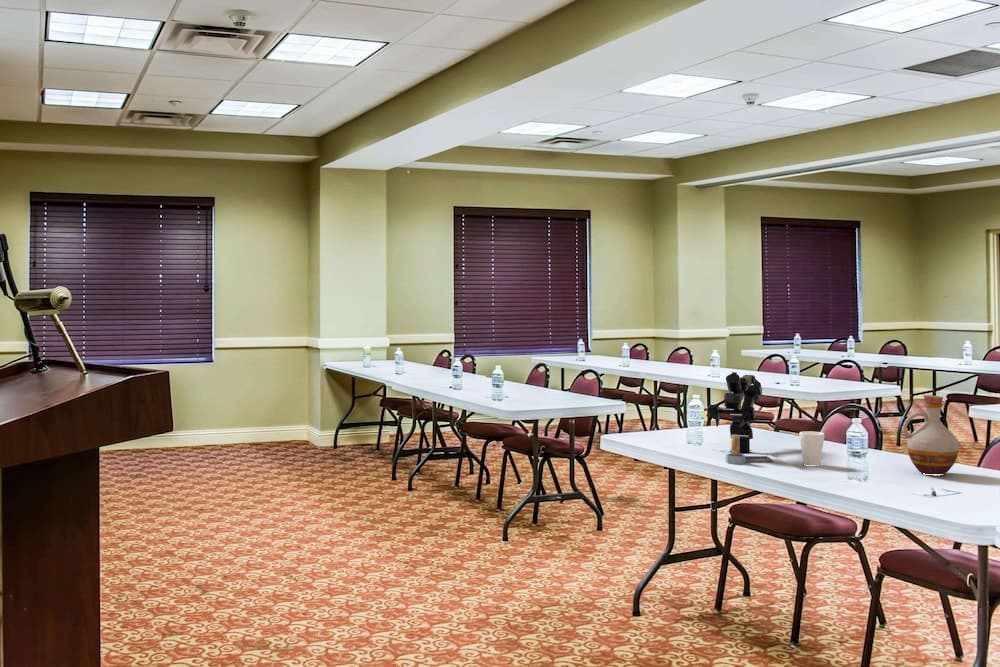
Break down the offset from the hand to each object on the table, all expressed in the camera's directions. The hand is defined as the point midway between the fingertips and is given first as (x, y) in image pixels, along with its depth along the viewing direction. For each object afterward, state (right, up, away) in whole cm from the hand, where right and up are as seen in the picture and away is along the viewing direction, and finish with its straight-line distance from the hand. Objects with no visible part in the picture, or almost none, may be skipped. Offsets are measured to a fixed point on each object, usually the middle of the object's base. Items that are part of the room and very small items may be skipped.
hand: (727, 426), depth 377 cm
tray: (+11, -14, -4) cm, 18 cm away
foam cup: (+31, -15, -10) cm, 36 cm away
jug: (+69, -15, -30) cm, 77 cm away
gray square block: (+1, -15, -8) cm, 17 cm away
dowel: (+1, -14, -8) cm, 16 cm away
